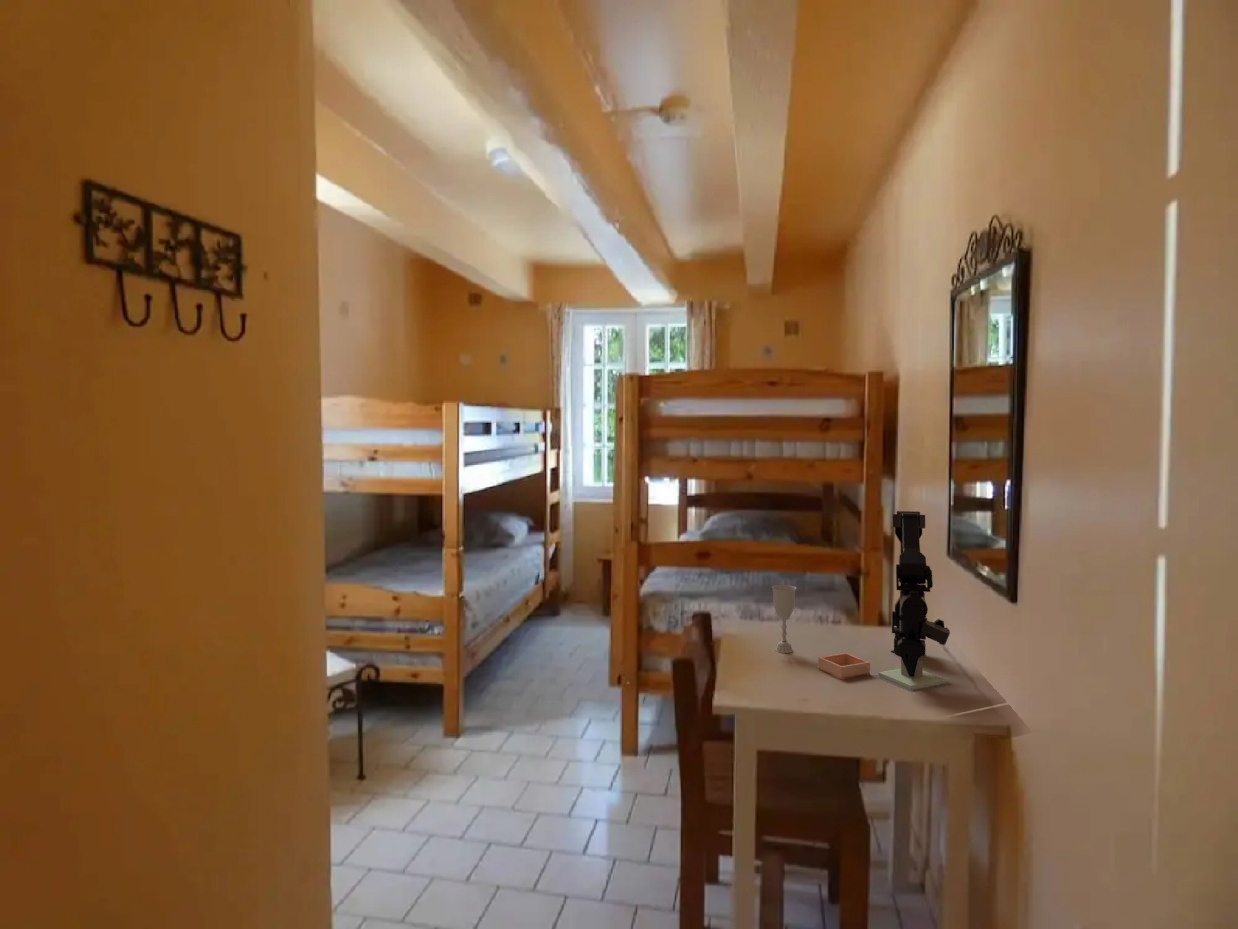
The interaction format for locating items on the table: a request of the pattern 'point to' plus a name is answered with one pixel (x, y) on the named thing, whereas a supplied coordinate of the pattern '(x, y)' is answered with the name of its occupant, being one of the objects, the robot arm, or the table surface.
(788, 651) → the chalice
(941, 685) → the mat
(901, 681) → the lid
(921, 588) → the robot arm
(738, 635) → the table surface
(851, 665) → the dish
